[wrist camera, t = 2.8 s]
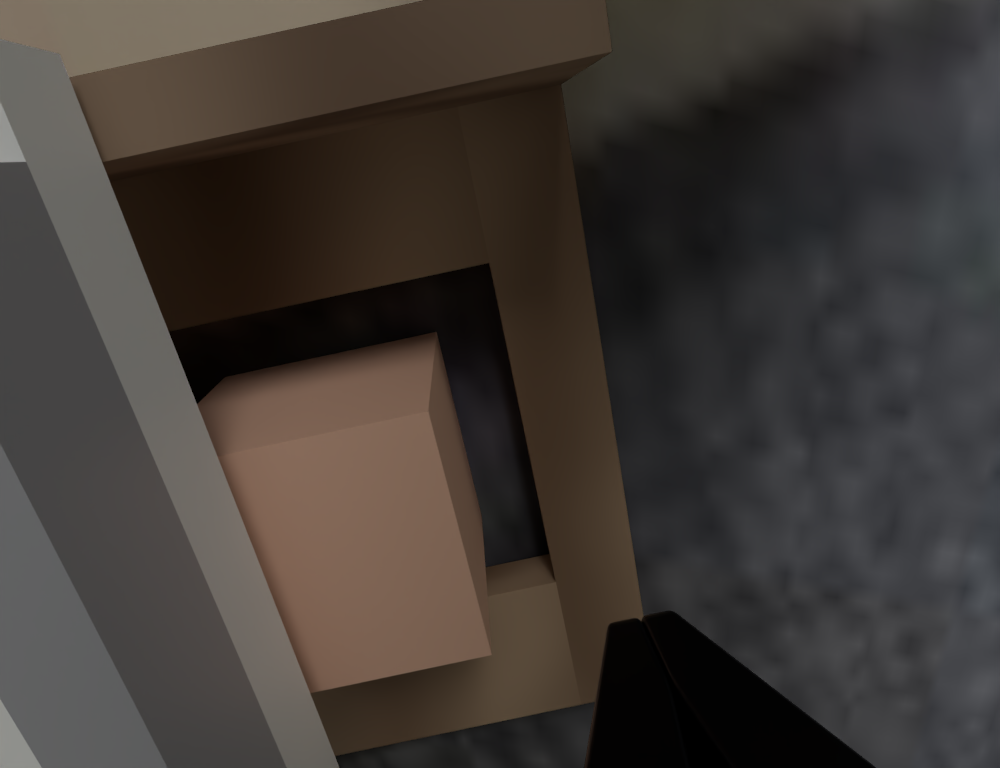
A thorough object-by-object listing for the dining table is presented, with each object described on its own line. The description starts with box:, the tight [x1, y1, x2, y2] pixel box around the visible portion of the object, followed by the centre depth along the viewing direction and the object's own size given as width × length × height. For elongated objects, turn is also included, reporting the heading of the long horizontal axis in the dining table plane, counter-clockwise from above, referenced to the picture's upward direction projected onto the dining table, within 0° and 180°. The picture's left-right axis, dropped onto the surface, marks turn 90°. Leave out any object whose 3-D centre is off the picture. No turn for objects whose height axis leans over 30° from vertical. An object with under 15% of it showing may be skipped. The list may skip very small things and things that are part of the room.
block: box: [197, 332, 492, 693], centre depth 14 cm, size 5×5×5 cm
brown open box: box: [69, 0, 643, 756], centre depth 13 cm, size 20×16×6 cm
